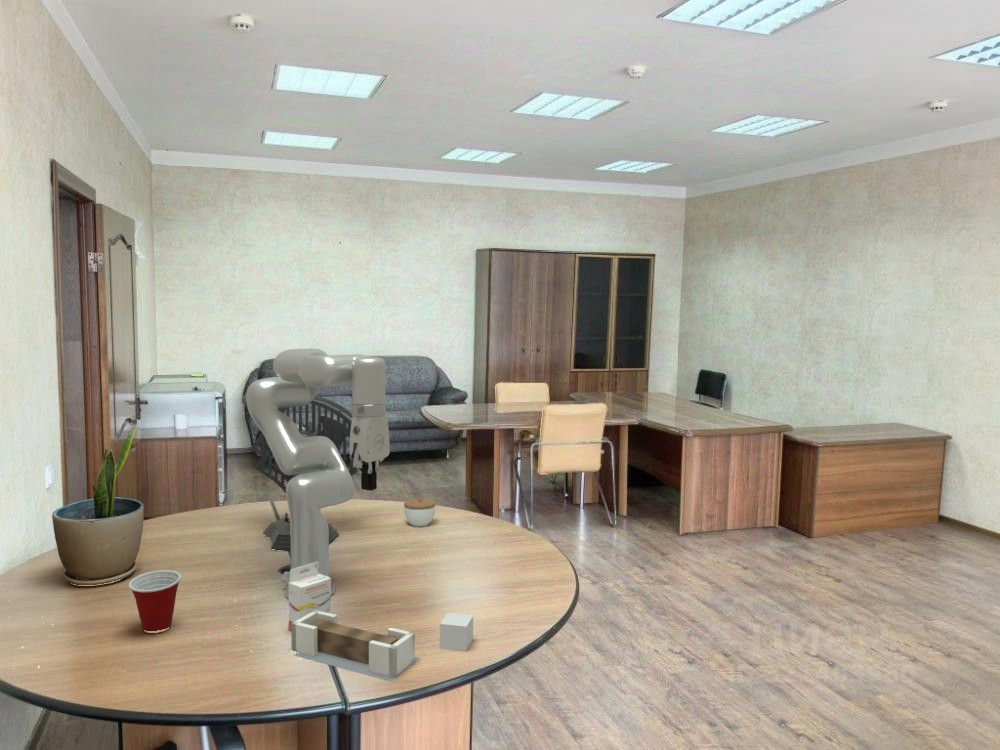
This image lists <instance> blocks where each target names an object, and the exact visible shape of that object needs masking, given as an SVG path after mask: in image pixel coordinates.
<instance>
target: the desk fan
mask: <svg viewBox="0 0 1000 750" xmlns="http://www.w3.org/2000/svg"><path fill="white" fill-rule="evenodd" d="M309 404H311V429H309ZM309 404H307V405H305V406H304V407H305V408H304V409H305V410H304V411H305V415H304V416H305V425H304V426H305V427H304V426H303V408H302V407H303V406H300V407H298V423H297V422H296V421H297V415H296V414H297V412H296V411H297V409H296V408H297V407H292V421H293V422H294V423H295V424H296V426H297V429H298V431H299V432H300V434H301V435H302V436H304V437H312V436H325V437H327V438H329V439H330V440H331V441H332V442H333V443H334V444H335V446H336V448H337V449H338V451H339V453H340V454H341V446H342V450H343V452H342V455H343V456H342V459H343V461H344V463H345V465H346V466H347V462H348V461H349V469H348V471H349V473H350V475H351V477H352V476H354V475H355V474H357V473H358V472H359V473H360V470H359V468H355V467H353V461H352V460H351V458H350V454H349V455H348V456H347V439H348V438H349V439H350V431H351V423H352V411H350V410H348V409H347V408H346V407H344V406H343V405H340V404H338V403H337V402H335V401H333V400H332V399H328V398H326V397H321V396H318V395H316V396H315V397H314V399H313V400H312V401H311V402H310V403H309ZM290 408H291V407H289V408H278V410H279V411H280V412H282V413H283V414H284V412H285V411H286V415H287V416H288V417H289V418H290ZM322 409H324V410H323V411H324V414H323V415H322ZM328 411H330V417H329V416H328ZM334 415H335V416H336V419H334ZM341 419H342V422H341ZM316 421H317V423H316ZM347 425H348V426H347ZM250 449H251V451H253V452H254V453H257V454H258V455H259V456H260V459H259V460H258V463H257V464H256V466H255V470H256V471H258V472H259V473H261V474H262V475H264V476H266V477H267V478H268V479H270V480H272V481H273V482H274V484H276V485H277V486H278V487H279V488H281V490H282V491H283V492H284V494H286V486H287V484H288V482H289V481H290V480H291V479H292V478H293V477H295V476H297V475H286V474H284V473H283V472H282V471H281V469H280V468H279V466H278V464H277V462H276V460H275V459H274V463H272V459H273V457H274V456H273V453H272V451H271V449H270V447H269V445H268V443H267V440H266V438H265V436H264V435H263V433H262V432H261V433H260V434H259V436H258V437H257V438H256V439H255V441H254V442H253V444H252V446H251V447H250ZM272 473H273V474H272ZM327 523H328V529H329V545H331V544H333V543H334V542H335V541H336V540H337V539H338V538H339V536H340V533H339V532H338V531H337V530H336V528H334V526H333V525H332V524H331V523H329V522H327ZM263 534H265V535H266V536H267V537H269V538H270V540H271V541H270V540H269V541H270V543H271V542H272V544H271V545H270V550H271V549H275V550H287V551H286V552H291V536H290V517H289V513H288V512H286V513H284V517H281V518H279V519H277V520H275V521H272V522H270V524H269V525H268V526H267V527H266V528H265V530H263V531H262V535H263ZM266 536H265V537H266ZM267 537H266V538H267ZM337 537H338V538H337ZM336 538H337V539H336ZM335 539H336V540H335ZM334 540H335V541H334ZM333 541H334V542H333ZM332 542H333V543H332Z"/></svg>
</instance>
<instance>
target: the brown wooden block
mask: <svg viewBox="0 0 1000 750" xmlns="http://www.w3.org/2000/svg"><path fill="white" fill-rule="evenodd" d="M312 626H316V627H317V643H318V652H322V653H325V654H329V655H333V656H337V657H341V658H345V659H348V660H352V661H356V662H360V663H364V664H368V665H369V642H370V641H372V640H374V641H378V642H382V643H386V644H390V645H393V644H394V643H396V642H397V641H398V638H395V637H390V636H388V635H386V634H382V633H377V632H372V631H368V630H365V629H360V628H356V627H354V626H353V627H352V626H347V625H345V624H339V623H337V624H336V623H332V622H327V621H323V620H320V621H318V622H316V623H315V624H313V625H312Z"/></svg>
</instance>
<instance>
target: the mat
mask: <svg viewBox="0 0 1000 750" xmlns="http://www.w3.org/2000/svg"><path fill="white" fill-rule="evenodd" d="M298 653H299V652H298ZM298 653H296V655H295V654H294V655H295V657H299V658H301V659H302V658H303V659H306V660H309V661H310V660H311V661H313V662H317V663H321V664H324V665H328V666H332V667H336V668H340V669H343V670H346V671H352V672H354V673H359V674H362V675H365V676H369V677H372V678H377V679H380V680H383V681H388V682H394V680H395V679H397V678H398V677H400V676H401V675H402V674H403V673H404V672H406V671H407V670H408V669H409V668H411V666H413V665H414V664H416V663H418V661H419V660H421V657H418V656H415V661H414V662H412V663H411V664H410V665H409V666H407V667H406V668H405V669H404V670H402V671H401V672H400V673H399V674H397V675H396V676H395V677H390V676H386V675H382V674H379V673H375V672H371V671H369V665H368V664H364V663H360V662H356V661H352V660H348V659H345V658H341V657H337V656H333V655H329V654H325V653H322V652H318V654H317V655H315V656H311V655H307V654H303V653H299V654H298ZM294 655H293V656H294Z"/></svg>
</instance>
